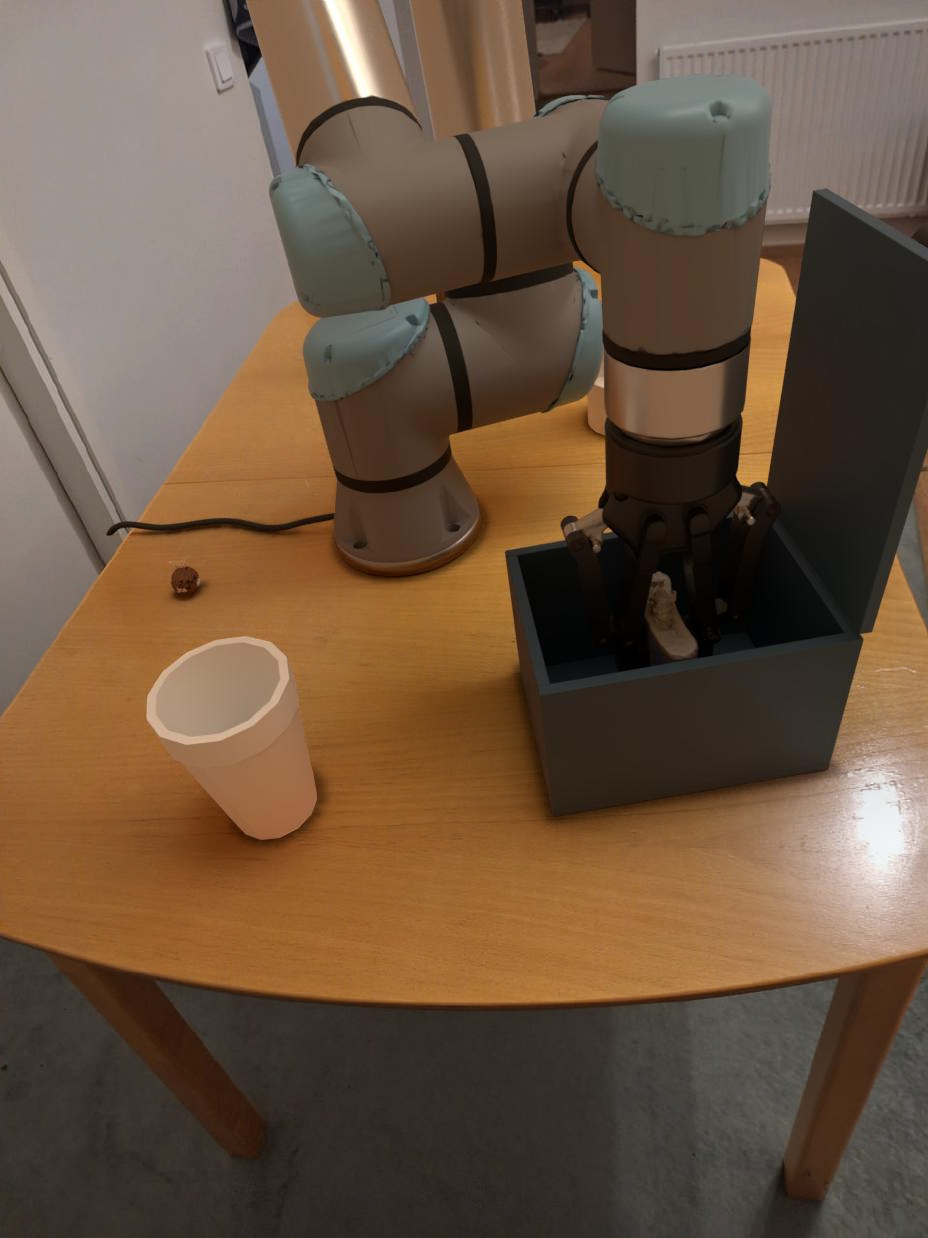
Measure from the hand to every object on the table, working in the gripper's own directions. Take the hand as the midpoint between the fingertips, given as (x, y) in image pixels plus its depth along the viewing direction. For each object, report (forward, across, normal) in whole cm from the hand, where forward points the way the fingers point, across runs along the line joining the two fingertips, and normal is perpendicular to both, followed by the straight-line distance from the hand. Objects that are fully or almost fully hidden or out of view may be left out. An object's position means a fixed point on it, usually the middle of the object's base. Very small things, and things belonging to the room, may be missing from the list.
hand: (661, 695), depth 60 cm
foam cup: (+3, +30, +2) cm, 30 cm away
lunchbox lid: (-21, -10, 0) cm, 23 cm away
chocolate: (+2, +41, -26) cm, 49 cm away
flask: (+1, 0, 0) cm, 1 cm away
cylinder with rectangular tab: (+2, -9, -45) cm, 46 cm away
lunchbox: (+2, 0, 0) cm, 2 cm away
